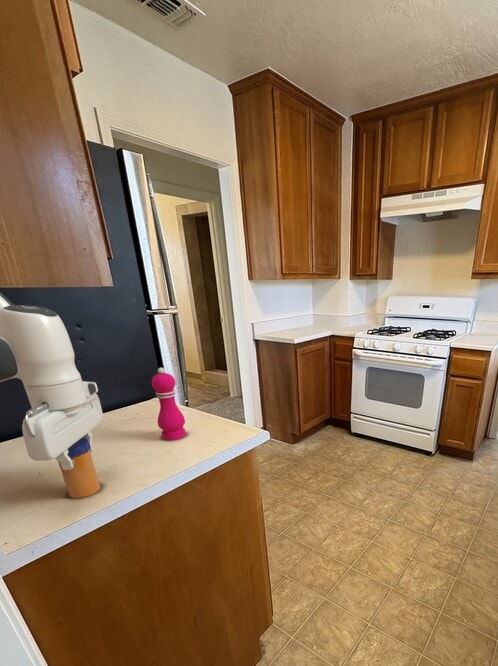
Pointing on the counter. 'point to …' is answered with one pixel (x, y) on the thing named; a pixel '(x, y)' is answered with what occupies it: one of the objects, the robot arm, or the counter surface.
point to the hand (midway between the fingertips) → (79, 460)
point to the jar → (81, 477)
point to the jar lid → (79, 447)
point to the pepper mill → (168, 406)
